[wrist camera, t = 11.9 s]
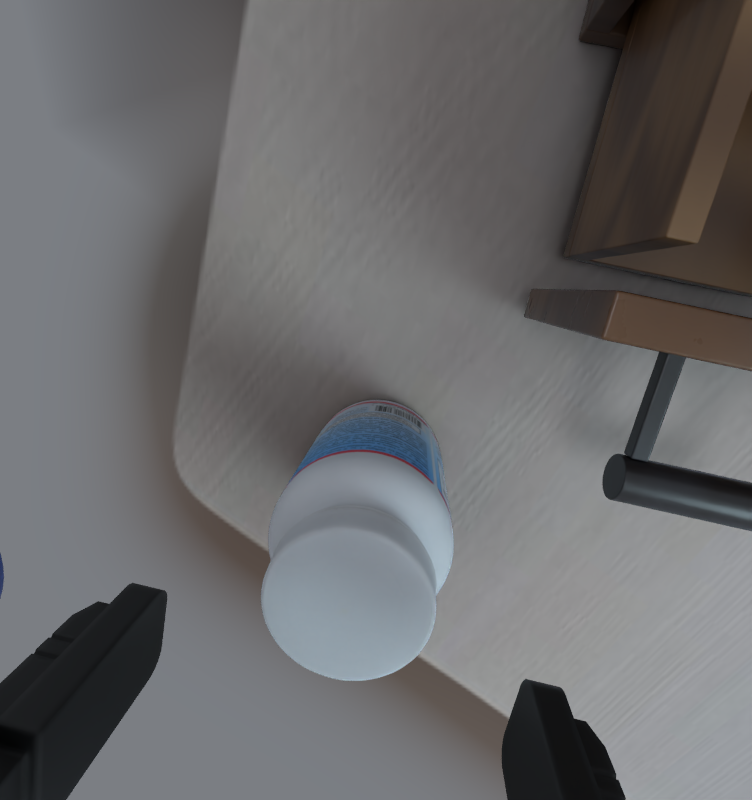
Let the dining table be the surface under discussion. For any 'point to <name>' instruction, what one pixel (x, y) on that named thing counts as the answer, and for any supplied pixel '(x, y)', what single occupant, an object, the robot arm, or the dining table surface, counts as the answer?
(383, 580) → the pill bottle
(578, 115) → the dining table surface
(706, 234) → the drawer
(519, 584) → the dining table surface
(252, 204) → the dining table surface
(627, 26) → the cabinet
